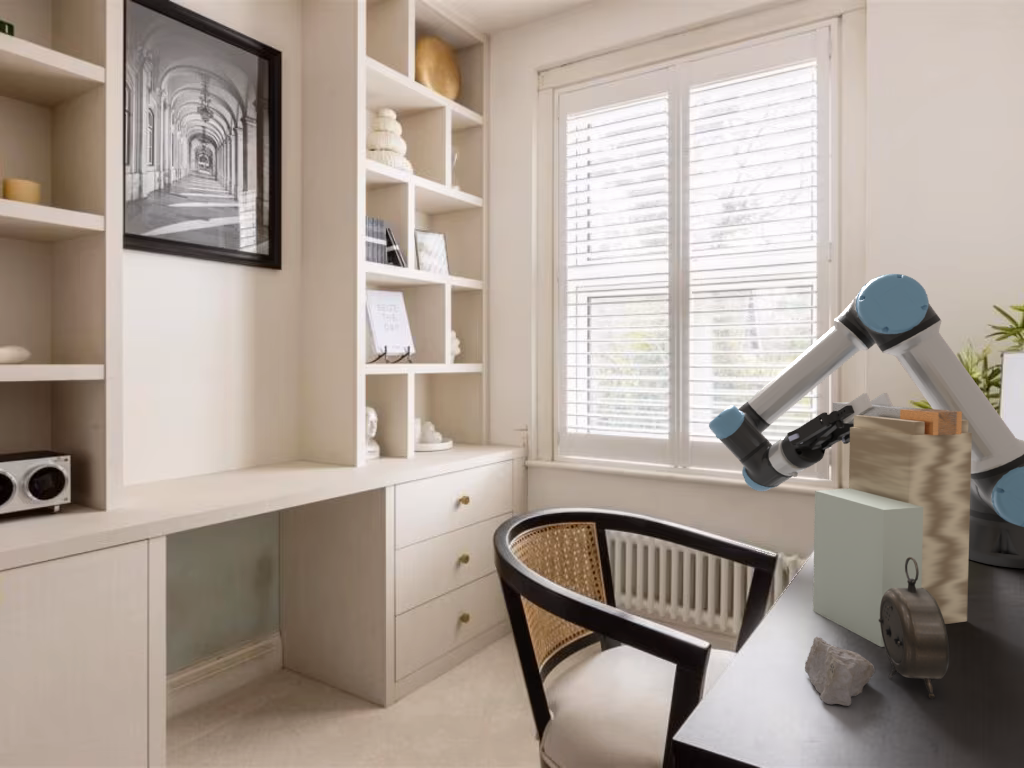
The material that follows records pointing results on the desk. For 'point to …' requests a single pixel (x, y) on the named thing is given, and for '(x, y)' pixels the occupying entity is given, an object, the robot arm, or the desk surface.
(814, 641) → the stone
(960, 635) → the desk surface
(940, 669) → the alarm clock
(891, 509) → the pale green block
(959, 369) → the robot arm
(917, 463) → the stand
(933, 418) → the grey long bar
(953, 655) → the desk surface
